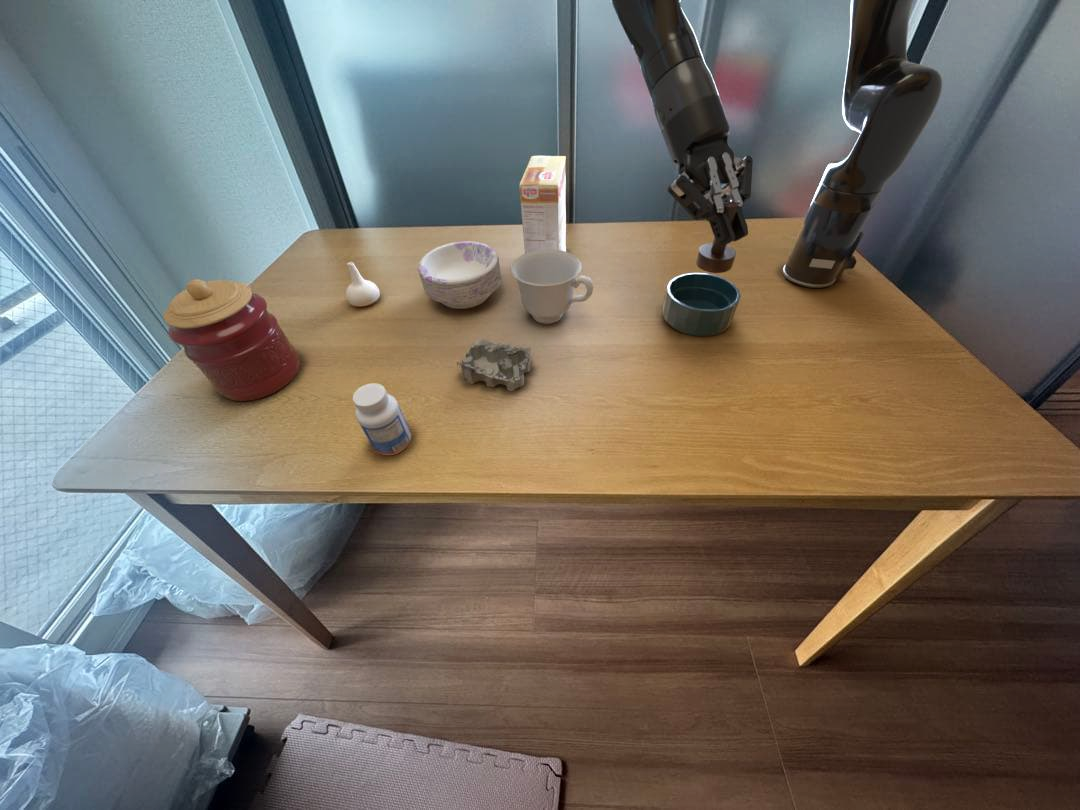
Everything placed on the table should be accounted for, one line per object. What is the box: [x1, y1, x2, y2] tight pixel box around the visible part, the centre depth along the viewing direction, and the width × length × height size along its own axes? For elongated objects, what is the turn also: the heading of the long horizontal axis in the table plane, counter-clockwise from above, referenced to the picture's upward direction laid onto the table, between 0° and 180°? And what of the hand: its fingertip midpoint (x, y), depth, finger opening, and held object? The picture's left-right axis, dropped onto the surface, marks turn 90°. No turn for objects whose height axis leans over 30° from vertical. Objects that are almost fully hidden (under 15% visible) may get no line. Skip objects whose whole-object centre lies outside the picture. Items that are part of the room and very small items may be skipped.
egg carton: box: [456, 339, 532, 392], centre depth 66 cm, size 11×8×4 cm
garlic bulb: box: [345, 261, 381, 307], centre depth 81 cm, size 6×6×8 cm
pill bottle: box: [352, 382, 412, 456], centre depth 55 cm, size 6×5×10 cm
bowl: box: [661, 272, 742, 337], centre depth 73 cm, size 12×12×6 cm
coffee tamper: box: [695, 200, 738, 274], centre depth 57 cm, size 5×5×8 cm
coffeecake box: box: [518, 155, 567, 254], centre depth 83 cm, size 15×7×20 cm, turn 172°
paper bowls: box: [417, 240, 502, 310], centre depth 81 cm, size 15×15×8 cm
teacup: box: [510, 249, 594, 325], centre depth 74 cm, size 12×15×10 cm
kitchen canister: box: [163, 279, 301, 402], centre depth 63 cm, size 13×13×18 cm
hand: (734, 240), depth 56 cm, fingers closed on coffee tamper
